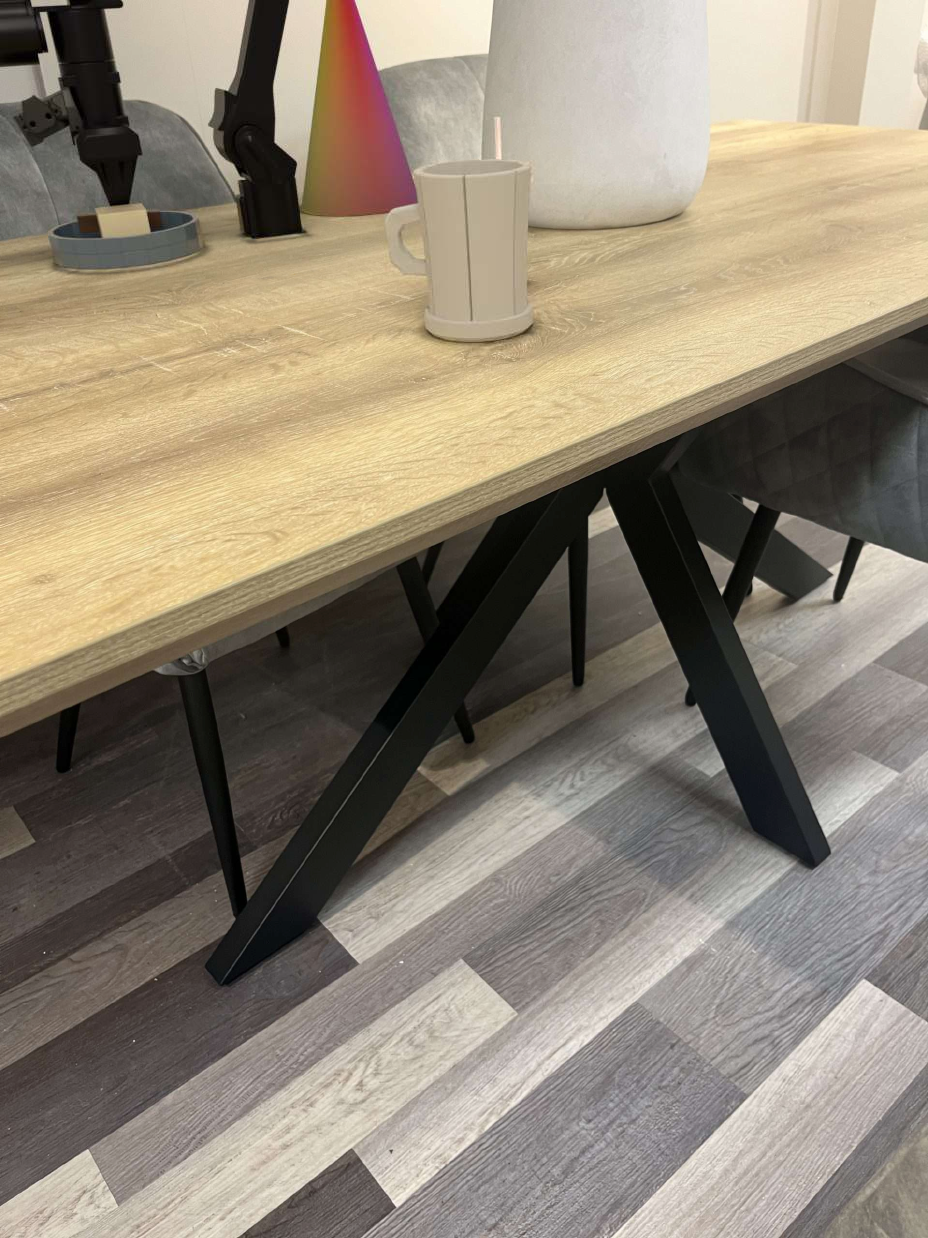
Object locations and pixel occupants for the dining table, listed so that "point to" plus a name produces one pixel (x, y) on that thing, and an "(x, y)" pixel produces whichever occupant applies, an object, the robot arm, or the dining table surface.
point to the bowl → (127, 244)
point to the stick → (90, 224)
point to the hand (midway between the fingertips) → (120, 219)
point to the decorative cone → (352, 128)
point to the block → (122, 220)
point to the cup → (469, 247)
